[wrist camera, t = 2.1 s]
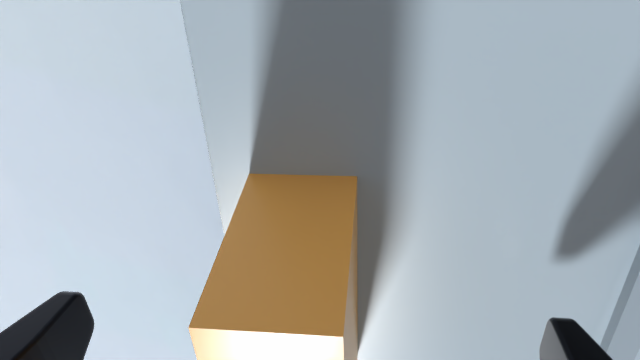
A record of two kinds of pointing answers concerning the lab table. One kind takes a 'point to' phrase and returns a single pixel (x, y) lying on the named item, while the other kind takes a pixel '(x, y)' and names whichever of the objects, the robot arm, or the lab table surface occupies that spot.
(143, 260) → the lab table surface
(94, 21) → the lab table surface
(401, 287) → the lid
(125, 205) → the lab table surface
